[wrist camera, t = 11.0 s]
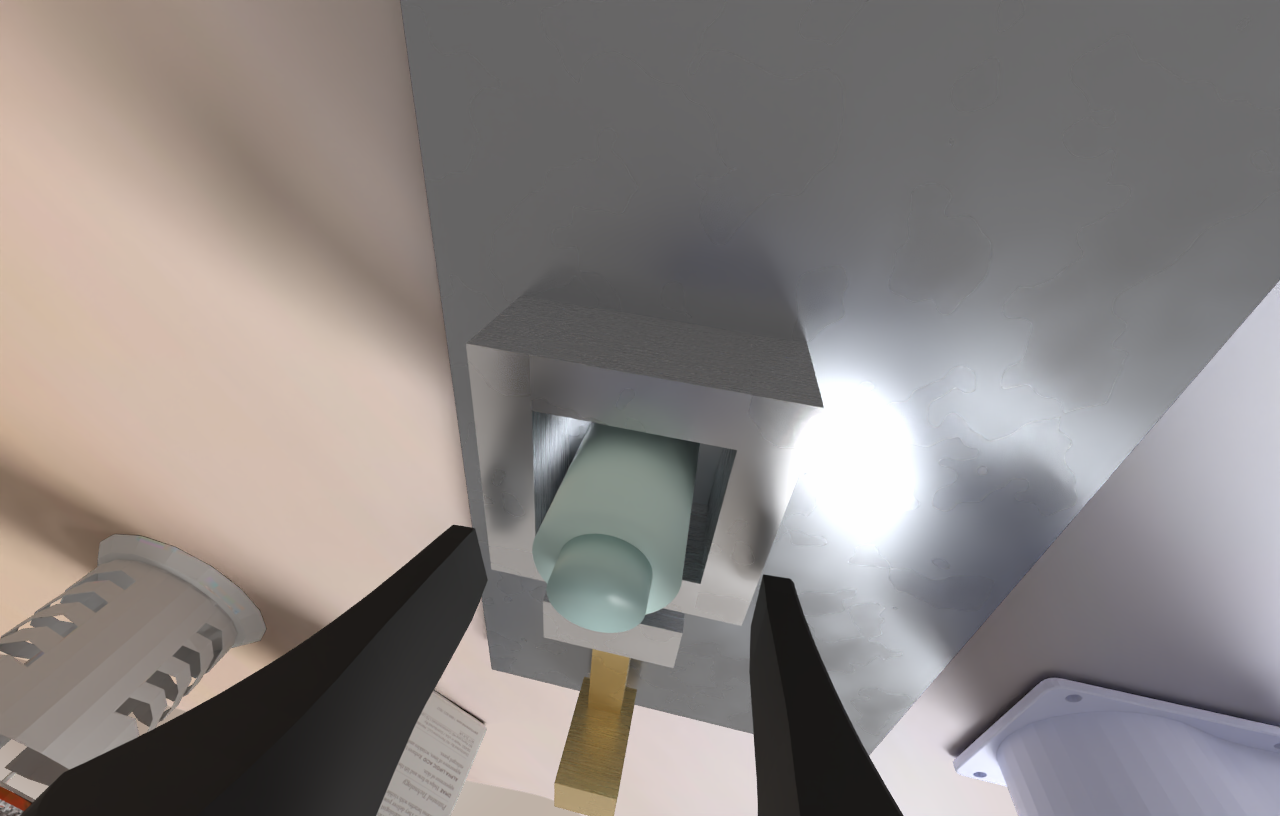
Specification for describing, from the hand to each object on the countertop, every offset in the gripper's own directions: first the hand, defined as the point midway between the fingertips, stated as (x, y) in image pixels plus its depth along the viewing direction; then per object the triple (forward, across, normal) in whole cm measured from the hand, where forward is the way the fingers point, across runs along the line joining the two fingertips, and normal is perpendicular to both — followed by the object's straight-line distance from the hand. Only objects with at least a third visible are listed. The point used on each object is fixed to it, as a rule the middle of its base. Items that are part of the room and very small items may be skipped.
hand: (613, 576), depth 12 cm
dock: (+5, -3, +1) cm, 6 cm away
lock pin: (+3, +1, +9) cm, 10 cm away
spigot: (+4, 0, -2) cm, 4 cm away
